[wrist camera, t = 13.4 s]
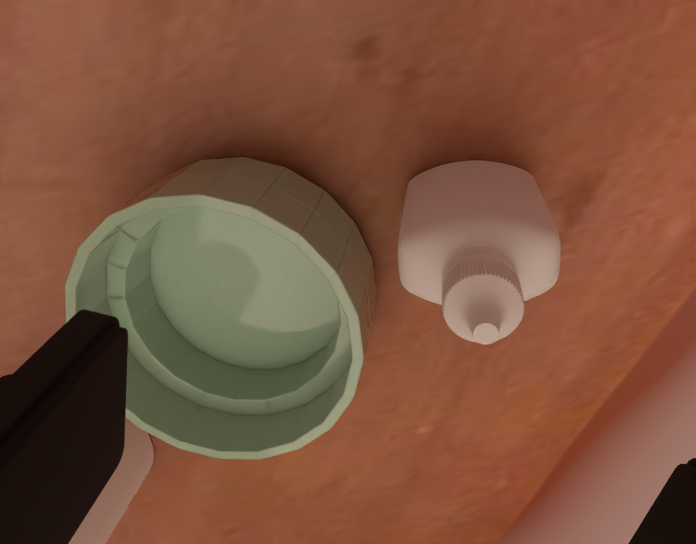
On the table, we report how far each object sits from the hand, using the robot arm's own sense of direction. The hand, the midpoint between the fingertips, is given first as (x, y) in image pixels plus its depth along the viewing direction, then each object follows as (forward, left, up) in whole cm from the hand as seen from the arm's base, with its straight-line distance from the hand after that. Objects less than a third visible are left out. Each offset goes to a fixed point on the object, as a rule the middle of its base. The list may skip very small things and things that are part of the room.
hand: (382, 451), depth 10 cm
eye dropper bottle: (+1, +3, -19) cm, 19 cm away
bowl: (+8, -7, -19) cm, 22 cm away
